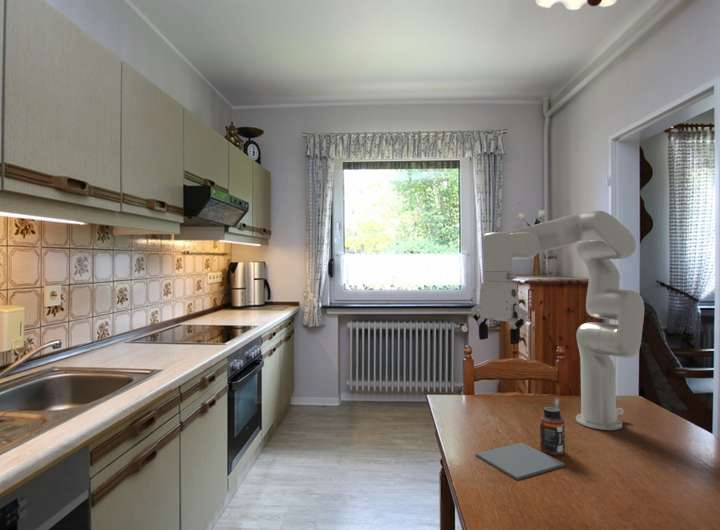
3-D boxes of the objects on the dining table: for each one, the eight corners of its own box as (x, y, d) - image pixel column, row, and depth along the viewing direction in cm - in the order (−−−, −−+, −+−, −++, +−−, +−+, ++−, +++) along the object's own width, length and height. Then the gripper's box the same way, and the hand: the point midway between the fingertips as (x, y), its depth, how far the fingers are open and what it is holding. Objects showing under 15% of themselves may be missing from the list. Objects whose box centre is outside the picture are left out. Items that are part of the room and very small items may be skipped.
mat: (521, 444, 115) (521, 442, 115) (565, 465, 102) (565, 463, 102) (475, 455, 108) (475, 453, 108) (516, 480, 95) (516, 477, 95)
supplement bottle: (567, 457, 107) (567, 413, 107) (543, 455, 108) (542, 412, 108) (561, 447, 112) (560, 406, 113) (538, 446, 114) (537, 404, 114)
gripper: (535, 278, 108) (536, 344, 107) (479, 277, 121) (480, 336, 121) (518, 278, 103) (520, 347, 103) (463, 278, 117) (464, 338, 117)
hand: (498, 341), depth 112 cm, fingers open, 9 cm apart
